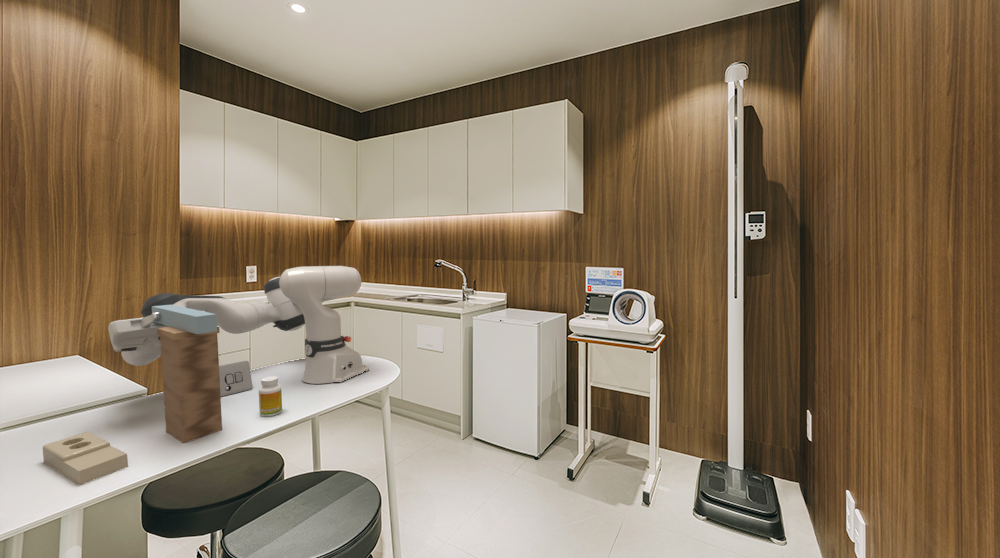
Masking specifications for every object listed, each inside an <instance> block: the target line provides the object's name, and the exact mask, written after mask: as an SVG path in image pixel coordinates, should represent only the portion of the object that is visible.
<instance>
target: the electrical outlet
mask: <svg viewBox="0 0 1000 558" xmlns="http://www.w3.org/2000/svg"><path fill="white" fill-rule="evenodd" d="M42 457H43V463H44V464H46V465H48V466H49V467H50V466H51V468H52V469H54V470H55V471H57V472H58V471H59V472H58V473H60V474H61V475H63V474H64V475H63V476H64V477H66V476H67V477H66V478H68V479H69V478H70V480H71V481H73V482H74V483H76V484H77V485H79V486H81V485H84V484H86V482H87V483H90V482H92V481H94V480H93V479H95V480H97V479H99V477H100V478H102V476H103V477H105V476H108V475H111V474H113V473H115V472H118V471H120V469H121V470H123V469H125V467H126V468H129V461H128V460H129V459H128V453H127V452H125V451H122V450H121V449H118V448H116V447H115V446H112V445H111V443H110V442H109V441H108V440H106V439H104V438H101V437H100V436H98V435H96V434H94V433H91V432H88V431H86V432H83V433H79V434H77V435H76V434H75V435H72V436H69V437H66V438H63V439H59V440H55V441H53V442H50V443H45V444H44V445H43V446H42ZM122 468H123V469H122ZM117 470H118V471H117ZM112 472H113V473H112ZM107 474H108V475H107ZM104 475H105V476H104ZM96 478H97V479H96ZM91 480H92V481H91ZM89 481H90V482H89Z"/></svg>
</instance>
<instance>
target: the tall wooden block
mask: <svg viewBox="0 0 1000 558" xmlns="http://www.w3.org/2000/svg"><path fill="white" fill-rule="evenodd" d="M220 332H221V331H220V327H219V326H218V325H217V331H215V332H208V333H202V334H194V333H191V332H187V331H184V330H180V329H177V328H173V327H163V328H157V335H160V342H161V357H160V358H161V371H162V372H161V373H162V386H163V401H164V403H163V405H164V419H165V432H166V433H167V434H168V435H170V436H172V437H173V438H175V439H176V440H178V441H180V442H181V443H183V444H184V443H189V442H191V441H193V440H197V439H200V438H202V437H206V436H208V435H211V434H213V433H217V432H220V431H222V430H223V420H222V418H223V417H222V400H221V399H222V398H221V396H220V377H219V366H220V364H219V363H220V361H219V359H220V358H219V357H220V356H219V339H218V334H220Z"/></svg>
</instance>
